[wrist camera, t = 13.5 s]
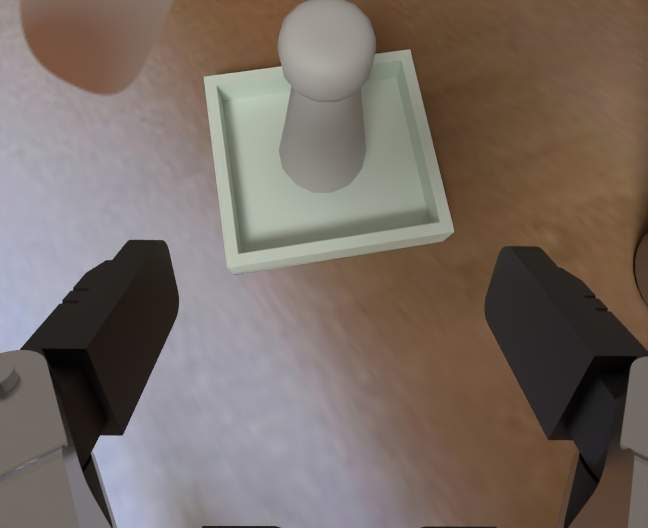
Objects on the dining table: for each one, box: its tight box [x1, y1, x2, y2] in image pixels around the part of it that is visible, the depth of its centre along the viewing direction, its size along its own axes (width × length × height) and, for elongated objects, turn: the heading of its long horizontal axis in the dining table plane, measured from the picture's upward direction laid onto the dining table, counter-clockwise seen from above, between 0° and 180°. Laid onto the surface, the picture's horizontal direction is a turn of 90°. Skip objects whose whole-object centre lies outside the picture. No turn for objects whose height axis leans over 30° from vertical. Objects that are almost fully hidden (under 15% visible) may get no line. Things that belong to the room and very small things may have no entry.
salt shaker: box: [278, 0, 376, 193], centre depth 23 cm, size 6×6×13 cm
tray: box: [204, 49, 454, 275], centre depth 29 cm, size 15×14×2 cm
